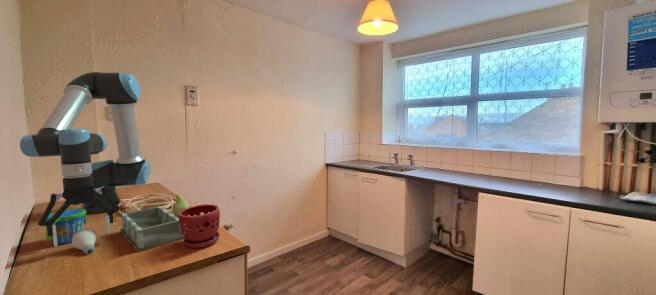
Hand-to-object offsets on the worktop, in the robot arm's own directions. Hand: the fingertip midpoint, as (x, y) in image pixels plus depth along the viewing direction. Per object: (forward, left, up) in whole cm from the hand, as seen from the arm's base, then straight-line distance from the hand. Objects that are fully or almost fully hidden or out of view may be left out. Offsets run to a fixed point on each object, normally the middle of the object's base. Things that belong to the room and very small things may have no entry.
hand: (83, 238), depth 97 cm
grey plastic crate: (+4, +19, -4) cm, 20 cm away
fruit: (-10, +34, -4) cm, 36 cm away
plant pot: (+24, +29, -4) cm, 38 cm away
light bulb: (+1, 0, -4) cm, 4 cm away
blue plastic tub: (-13, -3, -4) cm, 14 cm away
